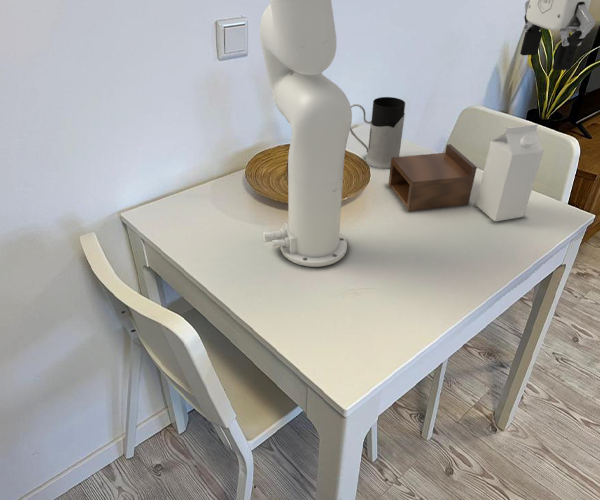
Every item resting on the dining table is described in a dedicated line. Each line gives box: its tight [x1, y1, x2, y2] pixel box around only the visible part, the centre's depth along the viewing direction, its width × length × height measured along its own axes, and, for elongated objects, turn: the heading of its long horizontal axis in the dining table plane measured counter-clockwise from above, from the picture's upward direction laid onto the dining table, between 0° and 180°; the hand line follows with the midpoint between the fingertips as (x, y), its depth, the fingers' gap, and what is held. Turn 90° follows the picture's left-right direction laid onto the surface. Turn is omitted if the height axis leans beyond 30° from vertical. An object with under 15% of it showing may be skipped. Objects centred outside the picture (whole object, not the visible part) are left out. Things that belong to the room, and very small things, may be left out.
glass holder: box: [350, 96, 406, 169], centre depth 125 cm, size 9×14×15 cm, turn 77°
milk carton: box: [475, 123, 544, 222], centre depth 104 cm, size 7×7×19 cm
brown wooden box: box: [387, 143, 478, 212], centre depth 112 cm, size 14×12×9 cm
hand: (544, 61), depth 91 cm, fingers open, 9 cm apart
